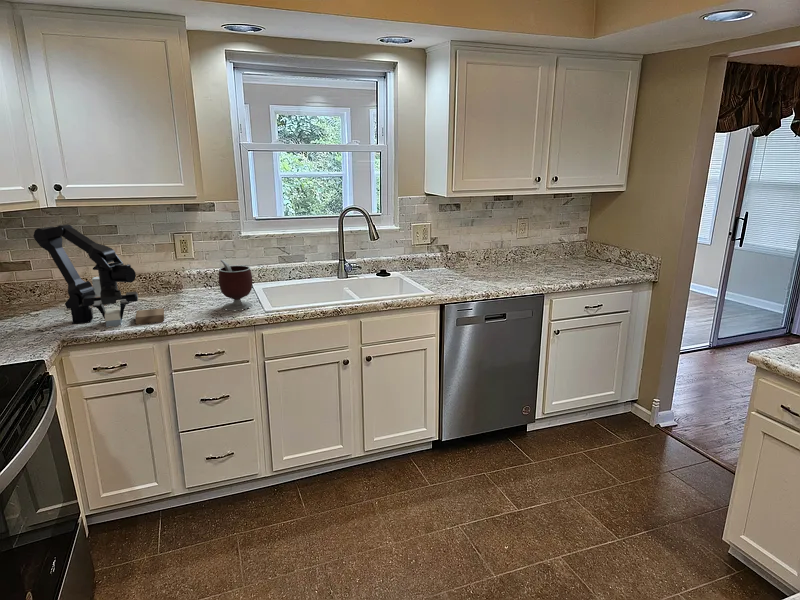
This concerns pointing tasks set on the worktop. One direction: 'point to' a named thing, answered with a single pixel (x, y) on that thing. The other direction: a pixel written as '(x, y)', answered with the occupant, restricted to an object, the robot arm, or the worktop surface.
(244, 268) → the mate gourd
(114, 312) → the lid plate
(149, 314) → the walnut stand
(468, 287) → the worktop surface
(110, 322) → the base plate
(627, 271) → the worktop surface
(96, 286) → the skincare box
